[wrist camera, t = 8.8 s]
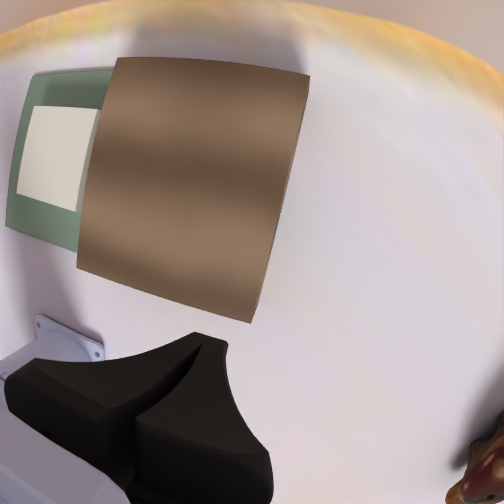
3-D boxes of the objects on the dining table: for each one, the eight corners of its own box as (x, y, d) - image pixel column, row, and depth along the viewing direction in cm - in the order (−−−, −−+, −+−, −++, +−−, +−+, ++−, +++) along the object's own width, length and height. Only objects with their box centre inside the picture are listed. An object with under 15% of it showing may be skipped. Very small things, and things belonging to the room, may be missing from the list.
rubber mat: (100, 259, 22) (98, 259, 21) (7, 225, 23) (5, 226, 22) (138, 71, 19) (136, 70, 18) (34, 77, 20) (32, 76, 20)
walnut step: (257, 305, 20) (250, 323, 18) (100, 259, 22) (76, 267, 19) (308, 92, 18) (310, 75, 15) (138, 71, 19) (117, 57, 16)
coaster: (91, 209, 21) (75, 211, 19) (32, 192, 21) (16, 193, 19) (112, 114, 19) (97, 109, 17) (49, 109, 20) (34, 105, 18)
